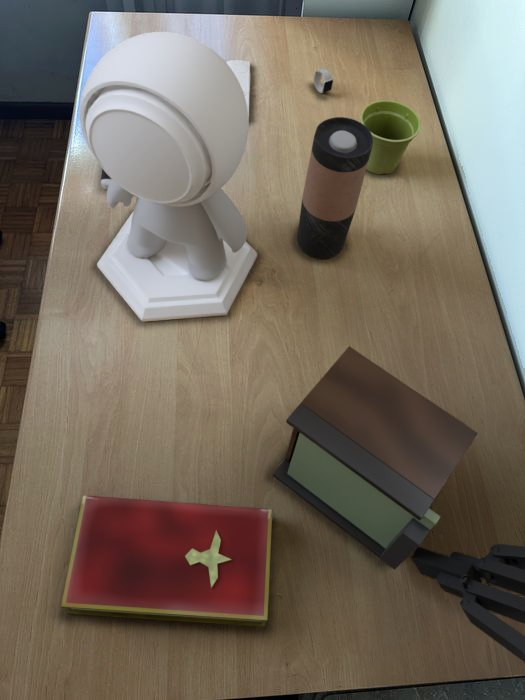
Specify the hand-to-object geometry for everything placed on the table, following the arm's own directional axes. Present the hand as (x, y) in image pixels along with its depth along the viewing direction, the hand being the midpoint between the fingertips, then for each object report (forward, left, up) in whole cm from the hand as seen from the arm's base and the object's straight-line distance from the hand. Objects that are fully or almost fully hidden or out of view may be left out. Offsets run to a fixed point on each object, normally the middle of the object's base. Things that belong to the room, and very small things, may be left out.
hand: (419, 560), depth 69 cm
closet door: (+8, -5, -6) cm, 11 cm away
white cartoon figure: (+34, -39, -8) cm, 53 cm away
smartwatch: (+17, -82, -8) cm, 85 cm away
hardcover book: (+26, +2, -8) cm, 27 cm away
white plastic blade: (+32, -78, -8) cm, 85 cm away
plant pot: (+6, -66, -8) cm, 67 cm away
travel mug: (+14, -47, -8) cm, 50 cm away
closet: (+6, -10, -8) cm, 14 cm away
